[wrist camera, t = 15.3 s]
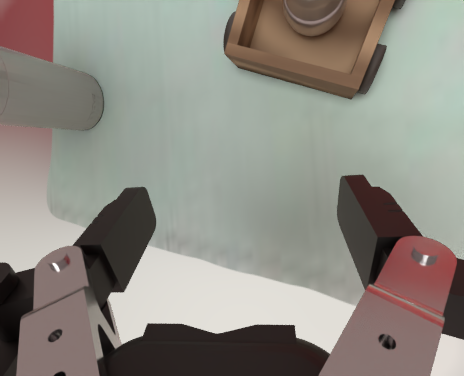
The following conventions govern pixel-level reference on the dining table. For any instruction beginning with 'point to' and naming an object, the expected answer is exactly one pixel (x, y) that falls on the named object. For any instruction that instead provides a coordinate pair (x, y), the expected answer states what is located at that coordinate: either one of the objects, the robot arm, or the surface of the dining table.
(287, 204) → the dining table surface
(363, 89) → the tray
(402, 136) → the dining table surface
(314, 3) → the grey ridged cylindrical piece
